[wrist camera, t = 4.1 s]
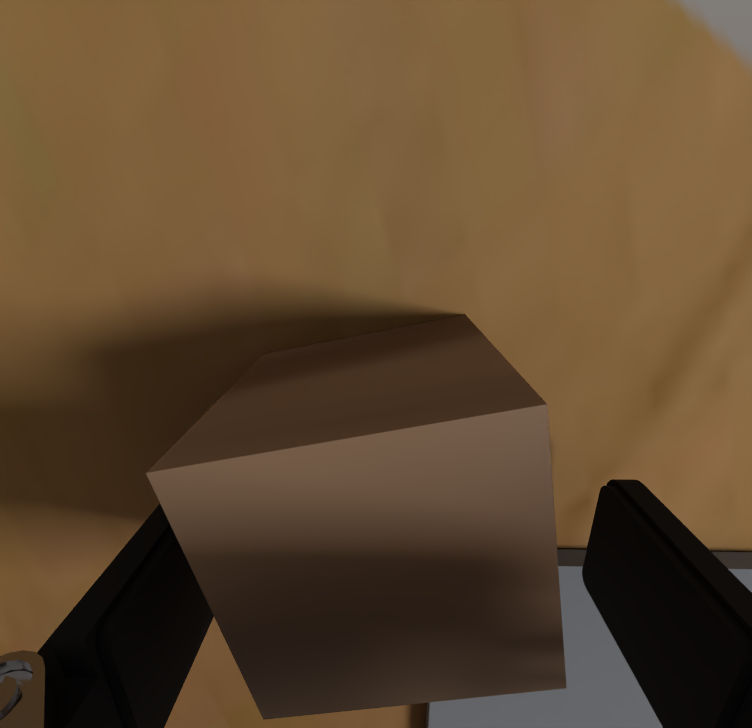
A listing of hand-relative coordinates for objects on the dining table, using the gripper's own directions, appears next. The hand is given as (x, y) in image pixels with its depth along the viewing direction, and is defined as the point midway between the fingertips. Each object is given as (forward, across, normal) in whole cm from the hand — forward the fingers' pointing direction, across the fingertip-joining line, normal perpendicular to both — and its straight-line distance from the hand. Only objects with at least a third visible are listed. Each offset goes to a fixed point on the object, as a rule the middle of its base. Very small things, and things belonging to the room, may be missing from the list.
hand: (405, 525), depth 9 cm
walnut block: (+2, +1, -2) cm, 3 cm away
